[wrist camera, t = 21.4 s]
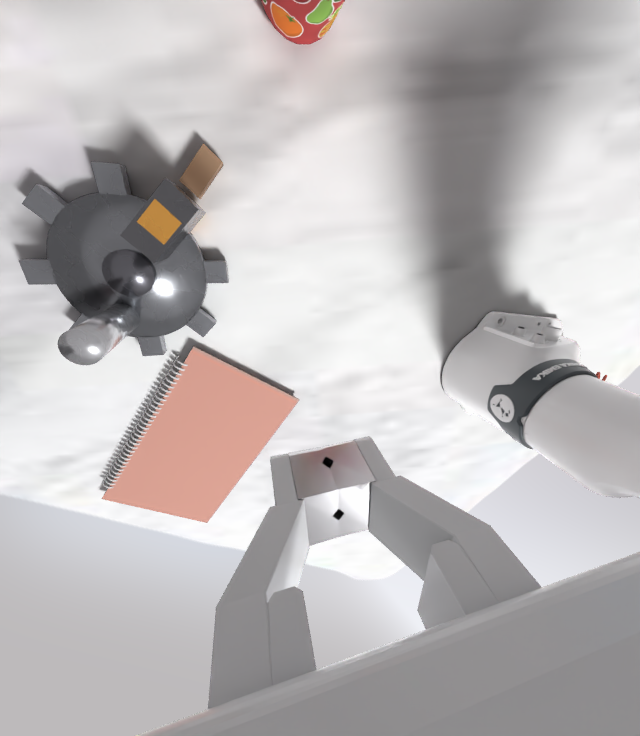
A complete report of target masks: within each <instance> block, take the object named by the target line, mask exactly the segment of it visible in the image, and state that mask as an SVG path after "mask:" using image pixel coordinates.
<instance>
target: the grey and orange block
mask: <svg viewBox="0 0 640 736" xmlns="http://www.w3.org/2000/svg"><path fill="white" fill-rule="evenodd" d="M204 215H205V212H204V211H203V210H202V209H201V208H200V207H199V206H198V205H197V204H196V203H195V202H194V201H193V200H192V199H191V198H190V197H189V196H188V195H187V194H186V193H185V192H184V191H183V190H182V189H181V188H180V187H179V186H177V185H176V184H174V183H173V182H171V181H170V180H169V179H167V178H165V179H164V180H163V181H162V183H161V184H160V185H159V186H158V188H157V189H156V190H155V192H154V193H153V194H152V195H151V197H150V198H149V199H148V200H147V202H146V203H145V204H144V206H143V207H142V208H141V209H140V211H139V212H138V213H137V214H136V216H135V217H134V218H133V220H132V221H131V222H130V223H129V225H128V226H127V227H126V228H125V230H124V231H123V232H122V234H121V235H120V236H121V237H123V238H124V239H125V240H126V241H128V242H129V243H130V244H131V245H133V246H134V247H135V248H136V249H138V250H139V251H140V252H141V253H142V254H144V255H145V256H146V257H147V258H149V259H150V260H151V261H152V262H154V263H156V262H159V261H162V260H165V259H167V258H169V257H170V255H171V254H172V253H173V252H174V251H175V249H176V248H177V247H178V246H179V245H180V243H181V242H182V241H183V240H184V239H185V237H186V236H187V235H188V234H189V233H190V231H191V230H192V229H193V228H194V227H195V225H196V224H197V223H198V222H199V221H200V219H201V218H202V217H203V216H204Z"/></svg>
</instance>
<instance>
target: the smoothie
mask: <svg viewBox="0 0 640 736" xmlns="http://www.w3.org/2000/svg"><path fill="white" fill-rule="evenodd" d="M261 1H262V4H263V7H264V9H265V12H266V14H267V16H268V18H269V19H270V21H271V22H272V24H273V26H274V27H275V29H276V30H277V31H278V32H279V33H280V34H281V35H283V36H284V37H285V38H286V39H287V40H289V41H292V42H294V43H296V44H311V43H314V42H316V41H318V40H320V39H321V38H322V37H323V36H324V35H325V34H326V32H327V31H328V30H329V29H330V27H331V25H332V23H333V22H334V20H335V18H336V16H337V14H338V12H339V11H340V9H341V7H342V5H343V3H344V1H345V0H261Z"/></svg>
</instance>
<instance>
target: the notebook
mask: <svg viewBox="0 0 640 736" xmlns="http://www.w3.org/2000/svg"><path fill="white" fill-rule="evenodd" d="M178 357H179V356H177V357H176V358H175V359H176V360H175V361H174V362H178V363H179V364H181V365H182V366H181V367H180V368H179V367H177V366H176V365H175V363H174V362H173V365H172V366H170V370H168V372H167V373H168V374H166V375H165V378H164V379H163V380H162V383H160V387H158V389H157V391H156V392H155V395H154V396H153V397H152V399H151V400H150V403H149V404H148V406H147V408H146V409H145V412H143V414H142V416H141V417H140V420H139V421H141V422H142V423H143V424H145V427H142V426H141V425H140V423H139V421H138V423H137V424H136V426H135V428H134V429H133V431H132V432H131V435H130V436H131V438H132V439H134V440H136V442H135V443H133V442H132V441H131V440H130V436H129V438H128V440H129V442H130V443H132V444H134V445H133V447H132V446H130V445H129V444H128V440H127V441H126V443H125V444H124V447H123V448H124V449H125V450H126V451H128V452H129V454H126V453H125V452H124V451H123V450H124V449H123V448H122V450H121V451H120V453H119V455H120V457H121V458H122V459H124V462H123V461H121V460H120V459H119V455H118V456H117V458H116V459H115V461H114V463H116V465H117V466H119V467H120V469H118V468H116V467H115V464H114V463H113V465H112V466H111V468H110V470H111V471H112V472H113V473H114V474H116V475H115V476H113V475H112V474H111V473H110V472H111V471H110V470H109V472H108V473H109V474H108V473H107V475H106V477H105V479H104V480H105V482H106V483H107V484H109V487H107V486H106V485H105V484H104V480H103V482H102V484H103V486H104V487H106V488H107V490H106V492H105V494H104V496H103V498H102V499H105V500H109V501H113V502H118V503H122V504H127V505H131V506H135V507H140V508H144V509H149V510H153V511H157V512H162V513H166V514H171V515H175V516H179V517H184V518H188V519H193V520H197V521H201V522H206V523H207V522H208V521H209V520H210V518H211V517H212V516H213V514H214V513H215V512H216V510H217V509H218V508H219V506H220V505H221V504H222V502H223V501H224V500H225V498H226V497H227V496H228V494H229V493H230V492H231V490H232V489H233V488H234V486H235V485H236V484H237V482H238V481H239V480H240V478H241V477H242V476H243V475H244V473H245V472H246V471H247V469H248V468H249V467H250V465H251V464H252V463H253V461H254V460H255V459H256V457H257V456H258V455H259V453H260V452H261V451H262V449H263V448H264V447H265V445H266V444H267V443H268V441H269V440H270V439H271V437H272V436H273V435H274V433H275V432H276V431H277V429H278V428H279V427H280V425H281V424H282V423H283V421H284V420H285V419H286V417H287V416H288V415H289V413H290V412H291V411H292V409H293V408H294V407H295V405H296V404H297V403H298V401H299V399H298V398H296V397H294V396H292V395H290V394H288V393H286V392H284V391H282V390H280V389H278V388H276V387H274V386H272V385H270V384H268V383H266V382H264V381H262V380H260V379H258V378H256V377H254V376H252V375H250V374H248V373H246V372H244V371H242V370H240V369H238V368H236V367H234V366H232V365H230V364H228V363H226V362H224V361H222V360H220V359H218V358H216V357H214V356H212V355H210V354H208V353H206V352H204V351H202V350H200V349H198V348H196V347H195V346H193V347H192V349H191V351H190V352H189V354H188V356H187V357H186V359H185V361H184V362H183V363H181V362H180V361H179V360H178V359H177V358H178ZM172 367H175V368H177V369H179V371H178V372H175V371H174V370H173V369H172ZM169 371H172V372H173V373H175V374H176V376H175V377H173V376H172V375H171V374H170V373H169ZM167 375H169V376H170V377H171V378H173V381H170V380H169V379H168V378H167V377H166V376H167ZM164 380H167V381H168V382H170V383H171V384H170V386H169V385H167V384H166V383H165V382H164ZM161 384H164V385H165V386H166V387H168V389H167V390H165V389H164V388H163V387H162V386H161ZM159 388H161V389H162V390H163V391H165V394H162V393H161V392H160V391H159ZM157 392H158V393H159V394H160V395H162V396H163V397H162V399H161V398H159V397H158V396H157V395H156V393H157ZM154 397H156V398H157V399H159V400H160V402H159V403H158V402H156V401H155V400H154ZM152 400H153V402H154V403H156V404H158V405H157V407H155V406H154V405H152V403H151V401H152ZM149 405H151V406H152V407H153V408H155V410H154V411H152V410H151V409H150V408H149ZM147 409H148V410H149V411H150V412H152V413H153V414H152V415H150V414H148V413H147V411H146V410H147ZM144 413H146V415H148V416H149V417H150V419H147V418H146V417H145V416H144ZM142 417H143V418H144V419H145V420H147V421H148V422H147V423H145V422H143V421H142ZM137 425H138V426H139V427H140V428H142V429H143V430H142V431H140V430H139V429H138V428H137ZM135 429H136V430H137V431H138V432H140V433H141V434H140V435H138V434H136V433H135ZM132 433H134V435H136V436H137V437H138V439H136V438H134V437H133V434H132ZM126 445H127V446H128V447H130V448H132V449H131V450H128V449H127V448H126ZM121 452H122V453H123V454H124V455H126V456H127V457H126V458H124V457H123V456H122V455H121ZM117 459H118V461H119V462H121V463H123V464H122V465H119V464H118V463H117ZM113 467H114V469H116V470H118V472H115V471H113V469H112V468H113ZM108 475H110V476H111V477H113V478H114V479H113V480H112V479H110V478H109V477H108ZM106 479H108V480H110V481H112V482H111V483H109V482H107V481H106Z"/></svg>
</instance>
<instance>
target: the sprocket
mask: <svg viewBox="0 0 640 736" xmlns="http://www.w3.org/2000/svg"><path fill="white" fill-rule="evenodd" d="M91 165H92V168H93V172H94V176H95V179H96V183H97V187H98V191H99V192H98V193H92V194H88V195H85V196H82V197H79V198H77V199H75V200H73V201H72V202H70V203H69V204H68V203H67V202H66V201H64V200H63V199H62V198H60V197H59V196H58V195H57V194H55V193H54V192H53V191H52V190H50V189H49V188H48V187H47V186H44V185H39V184H35V186H34V187H33V189H32V190H31V191H30V193H29V194H28V196H27V197H26V198H25V200H24V201H23V203H22V204H23V205H24V206H26V207H27V208H28V209H30V210H31V211H32V212H34V213H35V214H37V215H38V216H39V217H41V218H42V219H43V220H45V221H46V222H47V223H49V224H50V225H51V227H50V230H49V232H48V238H47V258H48V259H23V260H19V263H20V265H21V267H22V270H23V272H24V275H25V277H26V280H27V282H28V284H57V286H58V287H59V289H60V291H61V292H62V293H63V295H64V296H65V297H66V299H67V300H68V301H69V302H70V303H71V304H72V305H73V306H74V307H75V308H76V309H77V310H78V311H79V312H80V313H81V316H80V317H79V318H78V319H77V321H76V322H75V323H74V324H73V325H72V327H71V328H70V329H69V330H68V331H66V332H65V333H63V334H62V335H61V336H60V337H59V340H58V348H59V350H60V352H61V354H62V355H63V356H64V357H65V358H66V359H68V360H69V361H71V362H73V363H76V364H80V365H91V364H94V363H97V362H98V361H99V360H101V359H102V358H103V357H104V356H105V355H106V354H107V353H108V352H110V351H111V350H112V349H113V348H114V347H115V346H116V345H117V344H119V343H120V342H121V341H122V340H123V339H124V338H125V337H126V336H132V337H138V340H139V344H140V347H141V351H142V355H143V356H152V355H164V354H165V352H166V351H167V350H166V345H165V341H164V337H163V335H166V334H169V333H172V332H174V331H176V330H178V329H180V328H182V327H183V326H185V325H187V326H189V327H190V328H191V329H193V330H194V331H195V332H197V333H198V334H200V335H201V336H202V337H204V336H205V335H206V334H207V333H208V331H209V330H210V329H211V328H212V327H213V326H214V325H215V324H216V320H215V319H214V318H213V317H211V316H210V315H209V314H208V313H206V312H205V311H204V310H202V309H201V308H200V307H201V305H202V303H203V301H204V298H205V295H206V291H207V283H228V282H229V279H228V270H227V261H219V260H204V257H203V254H202V252H201V250H200V247H199V245H198V244H197V242H196V240H195V239H194V237H193V236H192V234H191V233H189V234H188V235H187V236H186V237H185V239H184V240H183V241H182V242H181V243H180V245H179V246H178V247H177V248H176V249H175V251H174V252H173V253H172V254H171V255H170V257H169V258H167V259H165V260H162V261H159V262H156V263H154V262H152V261H151V260H150V259H149V258H147V257H146V256H145V255H144V254H142V253H141V252H140V251H139V250H138V249H136V248H135V247H134V246H133V245H131V244H130V243H129V242H128V241H126V240H125V239H124V238H123V237H121V236H120V235H121V234H122V232H123V231H124V230H125V228H126V227H127V226H128V225H129V223H130V222H131V221H132V220H133V218H134V217H135V216H136V214H137V213H138V212H139V211H140V209H141V208H142V207H143V206H144V204H145V203H146V202H147V200H145V199H142V198H139V197H136V196H133V195H131V190H130V186H129V181H128V177H127V172H126V168H125V166H123V165H121V164H118V163H105V162H92V161H91Z"/></svg>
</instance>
